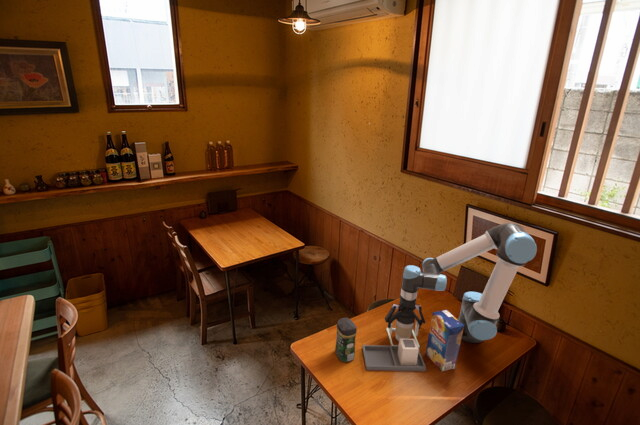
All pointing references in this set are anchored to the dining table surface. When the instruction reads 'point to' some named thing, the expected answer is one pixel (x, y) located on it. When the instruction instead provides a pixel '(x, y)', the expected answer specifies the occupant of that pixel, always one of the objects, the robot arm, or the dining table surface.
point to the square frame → (398, 345)
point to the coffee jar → (345, 339)
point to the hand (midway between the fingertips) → (403, 333)
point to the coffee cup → (404, 326)
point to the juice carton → (444, 340)
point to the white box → (407, 351)
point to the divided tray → (388, 359)
